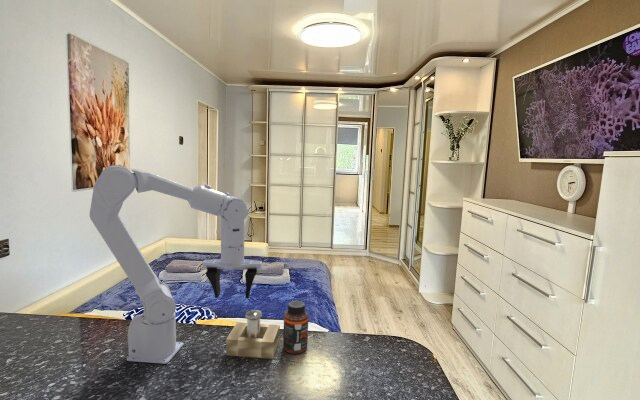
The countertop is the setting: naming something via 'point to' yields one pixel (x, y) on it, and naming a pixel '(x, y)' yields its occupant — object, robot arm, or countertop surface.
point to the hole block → (253, 341)
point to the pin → (253, 323)
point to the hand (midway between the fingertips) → (232, 296)
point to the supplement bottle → (295, 328)
